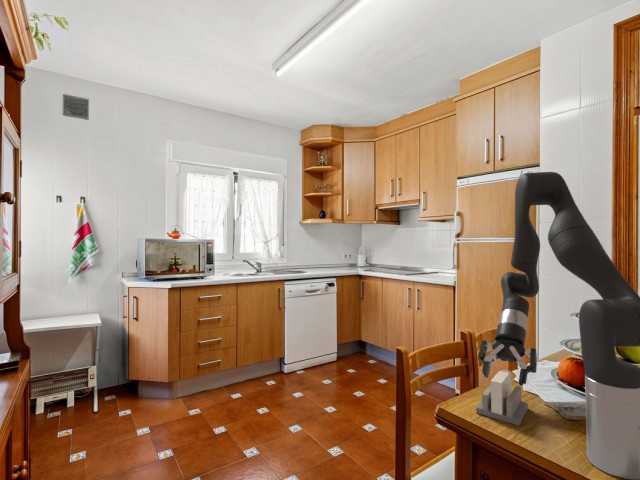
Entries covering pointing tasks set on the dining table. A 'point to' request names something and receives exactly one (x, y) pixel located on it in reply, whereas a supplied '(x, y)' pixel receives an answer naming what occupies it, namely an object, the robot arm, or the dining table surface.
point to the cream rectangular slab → (500, 391)
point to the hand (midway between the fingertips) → (502, 380)
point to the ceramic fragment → (570, 409)
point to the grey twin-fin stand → (512, 412)
